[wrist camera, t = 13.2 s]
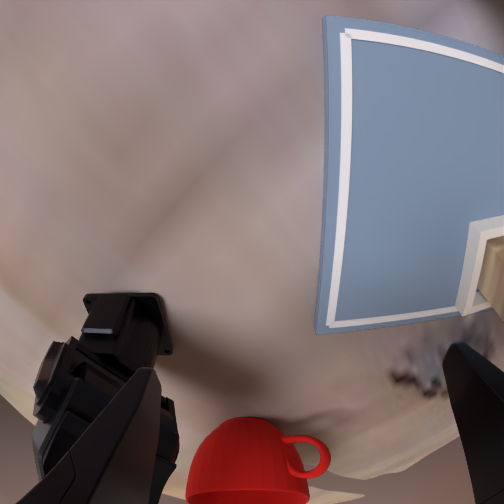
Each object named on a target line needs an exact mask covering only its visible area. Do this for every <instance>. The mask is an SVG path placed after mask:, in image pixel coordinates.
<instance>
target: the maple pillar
mask: <svg viewBox="0 0 504 504" xmlns="http://www.w3.org/2000/svg"><path fill="white" fill-rule="evenodd" d="M477 288H478V289H479V291H480V292H481V293H482V294H483V296H484V297H485V298H486V300H487V301H488V302H489V303H490V305H491V306H492V307H493V309H494V310H495V311H496V313H497V314H498V315H499V317H500V318H501V319H502V321H503V322H504V236H500V237H496V238H492V239H488V240H487V242H486V247H485V252H484V258H483V263H482V267H481V272H480V276H479V281H478V285H477Z"/></svg>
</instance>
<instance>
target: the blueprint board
mask: <svg viewBox="0 0 504 504" xmlns="http://www.w3.org/2000/svg"><path fill="white" fill-rule="evenodd" d="M322 26H323V47H324V80H325V155H324V190H323V214H322V232H321V249H320V263H319V276H318V289H317V300H316V311H315V321H314V328H315V333H316V335H319V334H330V333H340V332H350V331H359V330H367V329H375V328H383V327H391V326H398V325H405V324H412V323H419V322H425V321H431V320H437V319H443V318H449V317H454V316H460V315H461V314H460V312H459V311H458V309H457V308H456V306H455V303H456V298H457V294H458V289H459V285H460V280H461V275H462V270H463V264H464V258H465V252H466V246H467V239H468V232H469V224H470V222H473V221H478V220H483V219H488V218H492V217H497V216H502V215H504V56H502V55H499V54H497V53H494V52H492V51H489V50H486V49H483V48H481V47H478V46H475V45H472V44H469V43H466V42H463V41H460V40H456V39H453V38H450V37H446V36H442V35H439V34H435V33H431V32H427V31H423V30H419V29H414V28H410V27H405V26H400V25H395V24H390V23H384V22H378V21H371V20H364V19H357V18H348V17H338V16H327V15H326V16H325V17H323V18H322ZM476 292H479V289H478V288H477V289H476ZM490 309H493V307H492V306H491V307H489V308H486V309H483V310H480V311H485V310H490ZM480 311H477V312H480Z"/></svg>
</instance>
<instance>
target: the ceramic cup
mask: <svg viewBox="0 0 504 504" xmlns="http://www.w3.org/2000/svg"><path fill="white" fill-rule="evenodd" d="M297 442H305V443H311V444H313V445H314V446H316V447H317V448H318V450H319V452H320V462H319V464H318V466H317V467H316V468H315V469H313V470H311V471H308V472H306V471H305V470H304V467H303V464H302V461H301V458H300V456H299V454H298V452H297V450H296V448H295V447H294V445H293V444H292V443H297ZM330 461H331V455H330V452H329V449H328V448H327V446H326V445H325V444H324V443H323V442H321V441H320V440H318V439H316V438H314V437H311V436H305V435H293V436H285V435H284V434H283V433H282V432H281V431H280V430H278V429H277V428H276V427H274V426H273V424H271V423H270V422H268V421H266V420H263V419H259V418H253V417H241V418H234V419H230V420H227V421H225V422H223V423H222V424H221V425H220V426H219V427H218V428H216V429H215V430H214V431H213V432H212V433H211V434H209V435H208V436H207V437H206V438H205V439H204V441H203V442H202V443H201V445H200V446H199V448H198V450H197V452H196V454H195V456H194V458H193V461H192V464H191V467H190V471H189V476H188V481H187V487H186V501H187V502H188V503H189V504H306V503H307V502H308V501H309V498H310V495H309V488H308V483H307V478H314V477H318V476H320V475H322V474H323V473H324V472H325V471H326V470H327V469H328V467H329V465H330Z"/></svg>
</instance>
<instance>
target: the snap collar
mask: <svg viewBox="0 0 504 504" xmlns="http://www.w3.org/2000/svg"><path fill="white" fill-rule="evenodd" d="M500 236H504V215H502V216H497V217H492V218H488V219H483V220H478V221H473V222H470V224H469V232H468V239H467V246H466V252H465V258H464V264H463V270H462V275H461V280H460V285H459V289H458V294H457V298H456V303H455V306H456V308H457V309H458V311H459V312H460V314H461V315H462V317H463V316H466V315H469V314H472V313H475V312H477V311H480V310H483V309H486V308H489V307H491V305H490V303H489V302H488V301H487V300H486V298H485V297H484V296H483V294H482V293H481V292H480V291H479V292H476V289H477V285H478V281H479V276H480V272H481V267H482V263H483V258H484V252H485V247H486V242H487V240H488V239H492V238H496V237H500Z"/></svg>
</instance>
